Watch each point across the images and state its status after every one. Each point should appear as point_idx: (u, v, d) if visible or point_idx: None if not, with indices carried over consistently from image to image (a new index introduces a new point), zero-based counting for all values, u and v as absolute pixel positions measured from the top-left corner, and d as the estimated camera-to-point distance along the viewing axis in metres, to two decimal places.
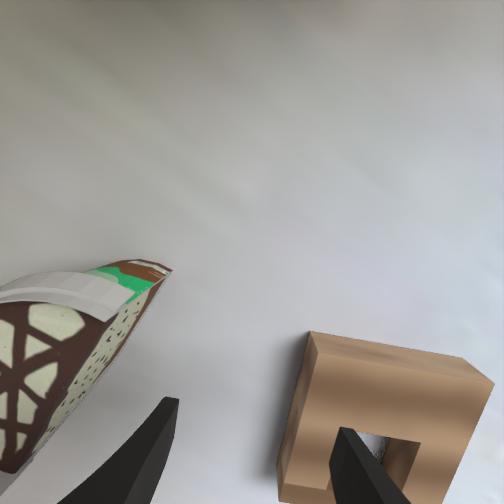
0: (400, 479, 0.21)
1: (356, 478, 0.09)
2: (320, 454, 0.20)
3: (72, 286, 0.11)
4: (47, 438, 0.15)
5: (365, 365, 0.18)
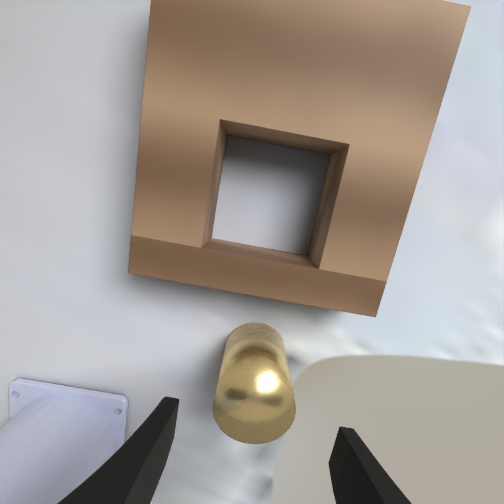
0: (323, 235, 0.13)
1: (356, 478, 0.09)
2: (183, 173, 0.12)
3: None
4: None
5: None
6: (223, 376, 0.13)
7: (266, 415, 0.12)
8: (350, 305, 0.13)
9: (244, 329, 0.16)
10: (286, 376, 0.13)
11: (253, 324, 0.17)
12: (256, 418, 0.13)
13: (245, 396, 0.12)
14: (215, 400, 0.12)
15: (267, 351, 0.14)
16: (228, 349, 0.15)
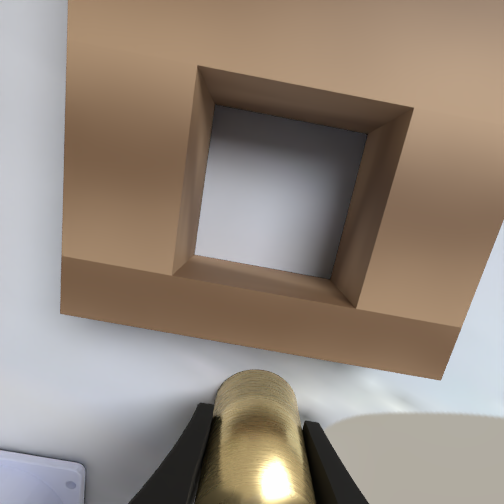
0: (362, 256, 0.08)
1: (314, 471, 0.09)
2: (140, 158, 0.07)
3: None
4: None
5: None
6: (207, 475, 0.08)
7: None
8: (403, 363, 0.09)
9: (241, 381, 0.12)
10: (305, 474, 0.08)
11: (254, 373, 0.12)
12: None
13: None
14: None
15: (274, 427, 0.09)
16: (217, 415, 0.11)
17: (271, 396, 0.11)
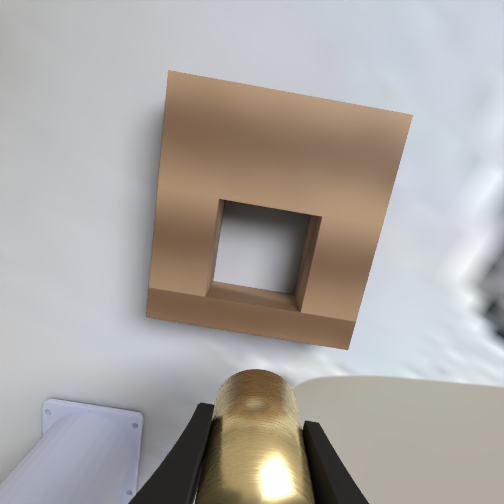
0: (304, 284, 0.16)
1: (314, 471, 0.09)
2: (190, 240, 0.15)
3: None
4: None
5: (234, 89, 0.13)
6: (207, 474, 0.08)
7: None
8: (327, 340, 0.16)
9: (241, 380, 0.12)
10: (304, 473, 0.09)
11: (253, 372, 0.12)
12: None
13: None
14: None
15: (274, 426, 0.09)
16: (218, 415, 0.11)
17: (270, 395, 0.11)
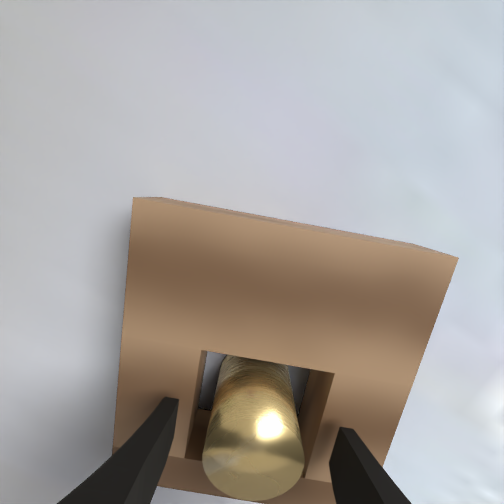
0: (310, 441, 0.13)
1: (356, 478, 0.09)
2: (165, 395, 0.12)
3: None
4: None
5: (222, 222, 0.10)
6: (214, 418, 0.11)
7: (268, 466, 0.10)
8: None
9: None
10: (292, 416, 0.11)
11: None
12: (256, 471, 0.10)
13: (242, 445, 0.10)
14: (205, 451, 0.10)
15: (268, 383, 0.12)
16: (222, 379, 0.13)
17: (266, 362, 0.13)
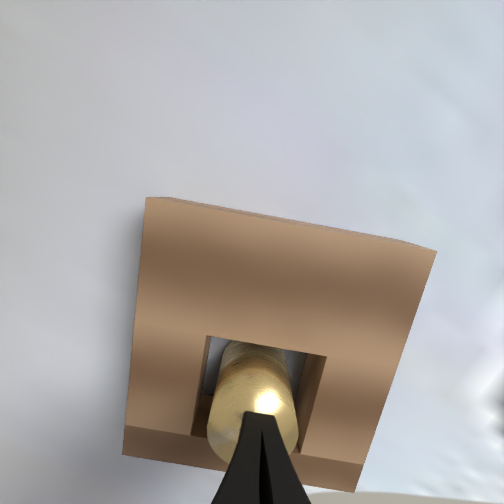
0: (305, 420, 0.14)
1: (261, 462, 0.09)
2: (173, 377, 0.13)
3: None
4: None
5: (225, 219, 0.11)
6: (218, 395, 0.12)
7: None
8: (330, 483, 0.14)
9: None
10: (287, 394, 0.12)
11: None
12: None
13: None
14: (209, 422, 0.11)
15: (266, 365, 0.13)
16: (224, 363, 0.14)
17: (265, 348, 0.14)
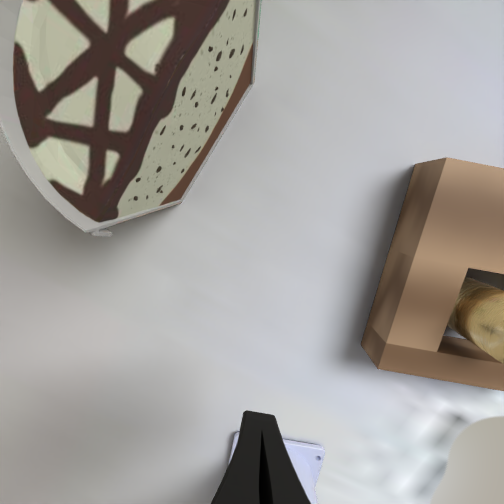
0: None
1: (261, 462, 0.09)
2: (434, 302, 0.17)
3: None
4: (127, 216, 0.12)
5: None
6: (489, 310, 0.15)
7: None
8: None
9: None
10: None
11: None
12: None
13: None
14: (493, 328, 0.15)
15: None
16: (460, 295, 0.18)
17: (489, 285, 0.18)
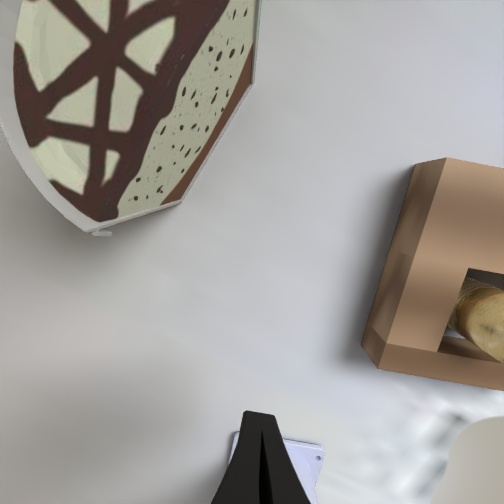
0: None
1: (261, 462, 0.09)
2: (434, 302, 0.17)
3: None
4: (127, 216, 0.12)
5: None
6: (489, 310, 0.15)
7: None
8: None
9: None
10: None
11: None
12: None
13: None
14: (493, 328, 0.15)
15: None
16: (459, 295, 0.18)
17: (489, 285, 0.18)
